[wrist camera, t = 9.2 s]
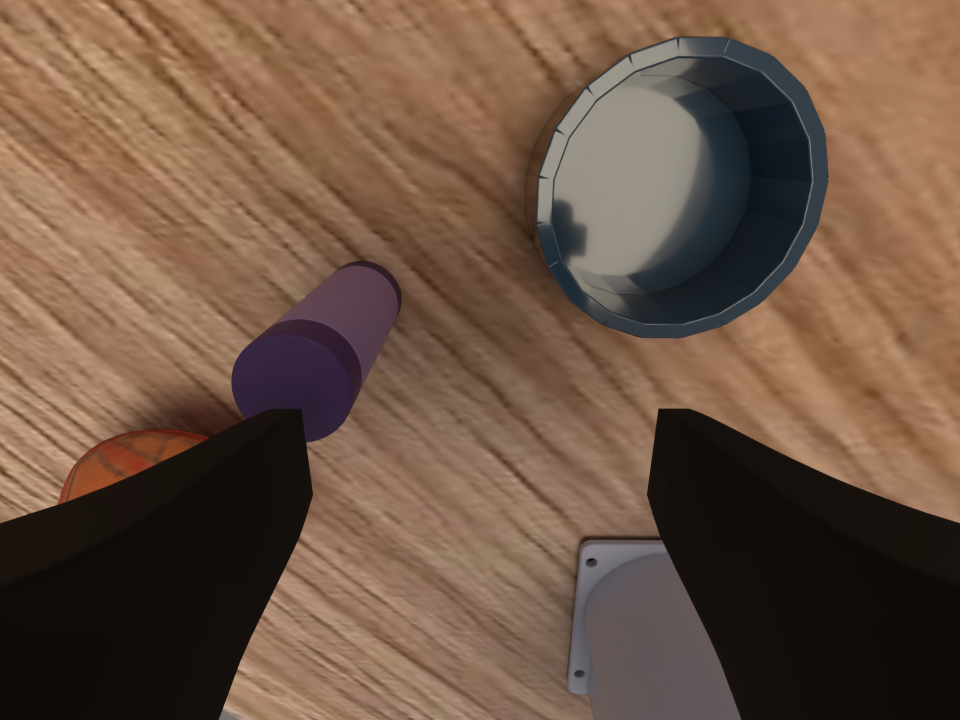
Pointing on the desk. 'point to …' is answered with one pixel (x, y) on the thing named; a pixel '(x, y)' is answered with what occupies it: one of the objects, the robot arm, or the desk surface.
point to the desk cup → (678, 186)
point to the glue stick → (320, 349)
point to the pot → (124, 459)
